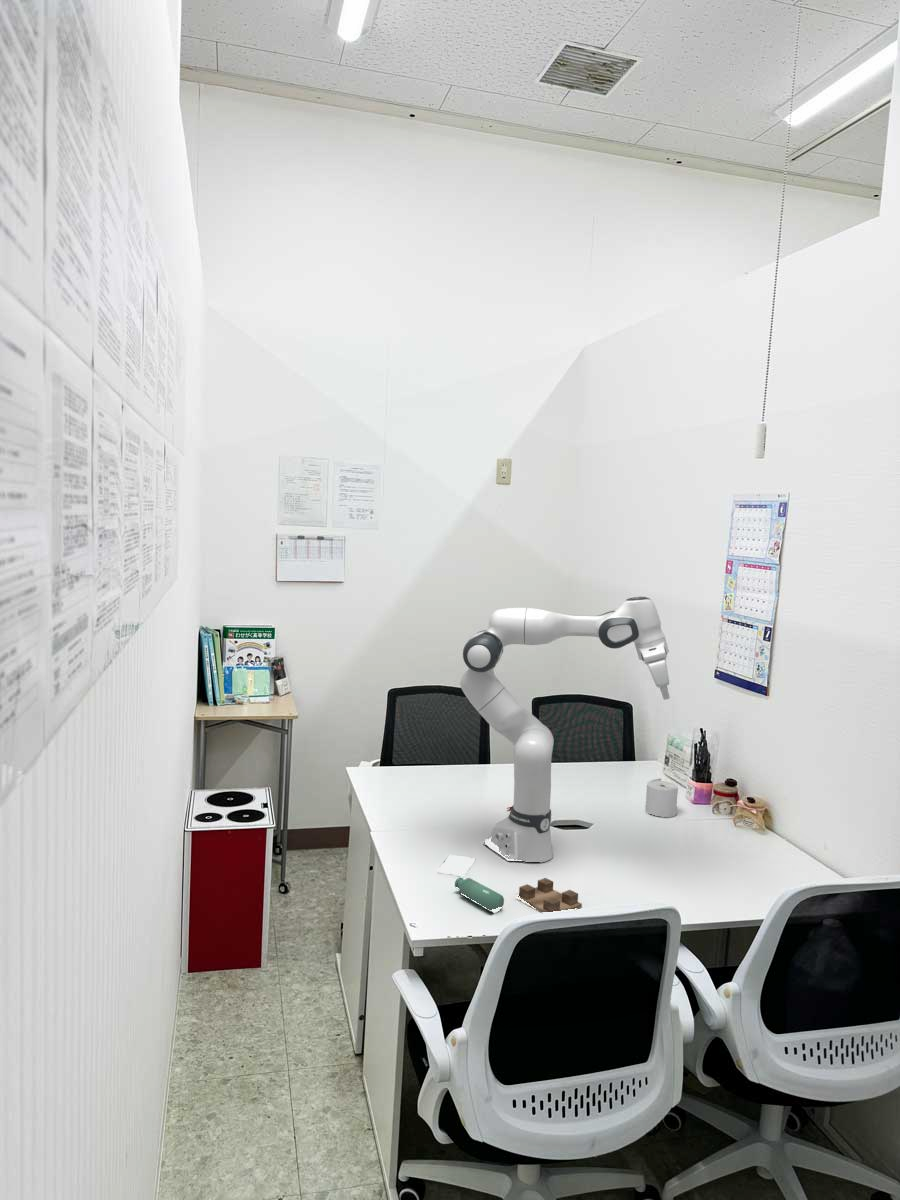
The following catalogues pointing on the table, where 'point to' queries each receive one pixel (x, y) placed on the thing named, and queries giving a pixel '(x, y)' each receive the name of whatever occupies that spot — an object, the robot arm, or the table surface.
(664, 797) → the toilet tissue
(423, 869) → the table surface
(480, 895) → the bottle
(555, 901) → the cradle
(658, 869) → the table surface
